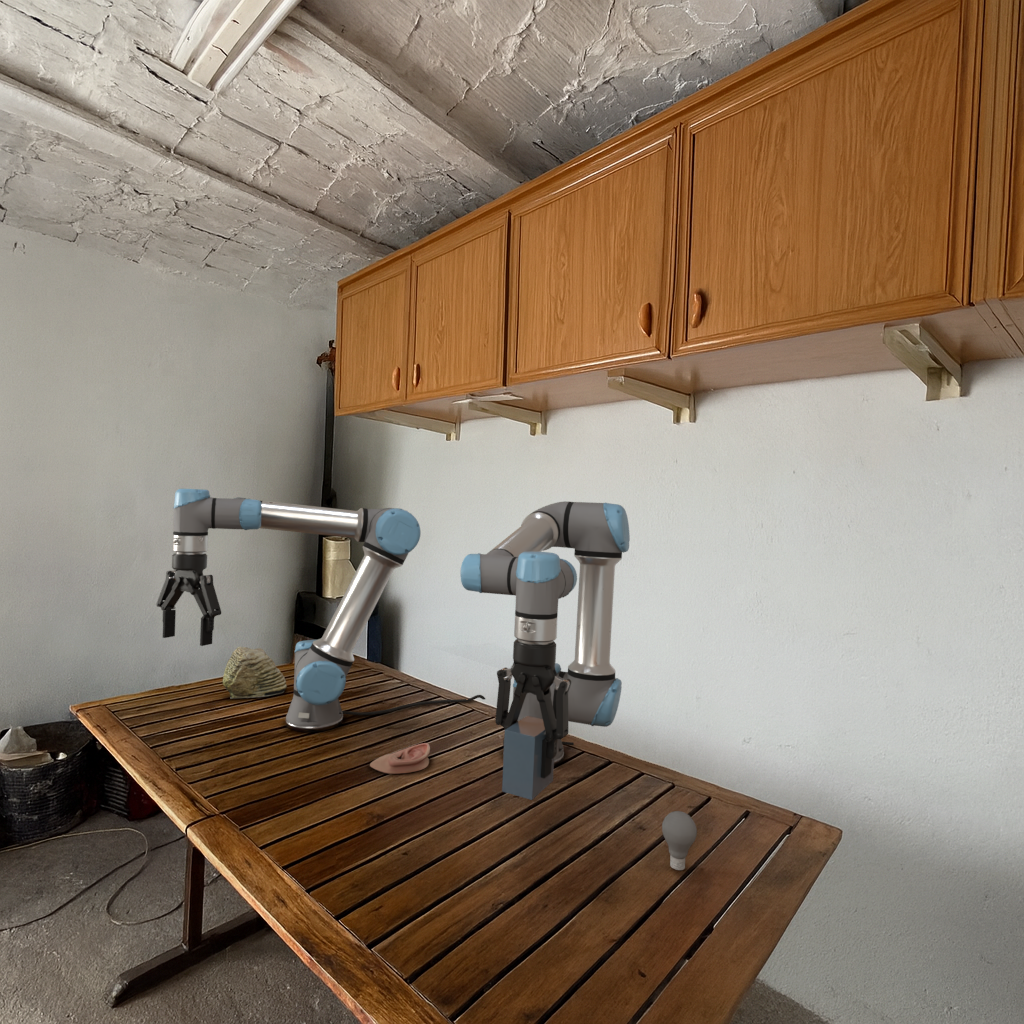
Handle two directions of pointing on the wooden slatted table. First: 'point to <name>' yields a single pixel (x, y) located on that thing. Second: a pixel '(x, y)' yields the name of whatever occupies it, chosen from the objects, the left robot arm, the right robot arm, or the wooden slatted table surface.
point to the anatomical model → (404, 760)
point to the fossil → (252, 674)
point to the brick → (524, 759)
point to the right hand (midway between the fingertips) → (529, 770)
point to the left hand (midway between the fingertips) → (187, 640)
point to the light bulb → (679, 837)
